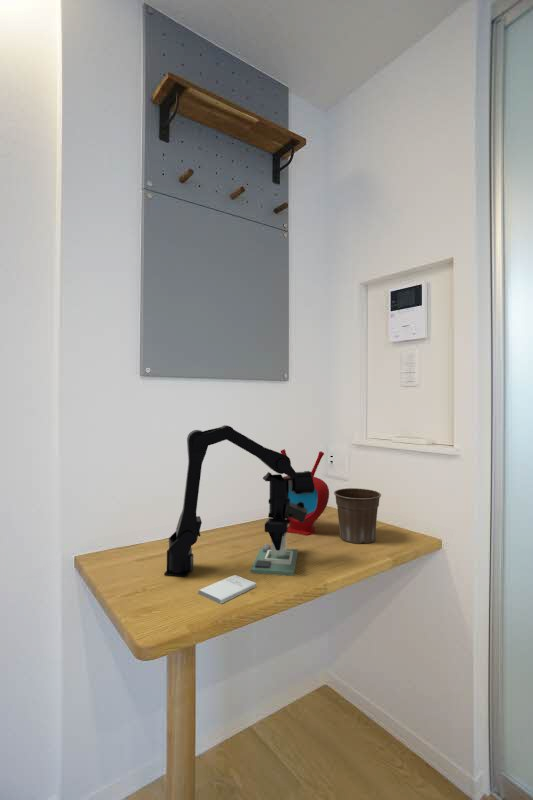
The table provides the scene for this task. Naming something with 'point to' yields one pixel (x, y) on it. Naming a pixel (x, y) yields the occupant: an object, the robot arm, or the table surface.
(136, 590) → the table surface
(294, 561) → the board
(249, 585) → the external hard drive
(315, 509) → the novelty television
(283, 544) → the plug
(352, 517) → the plant pot
